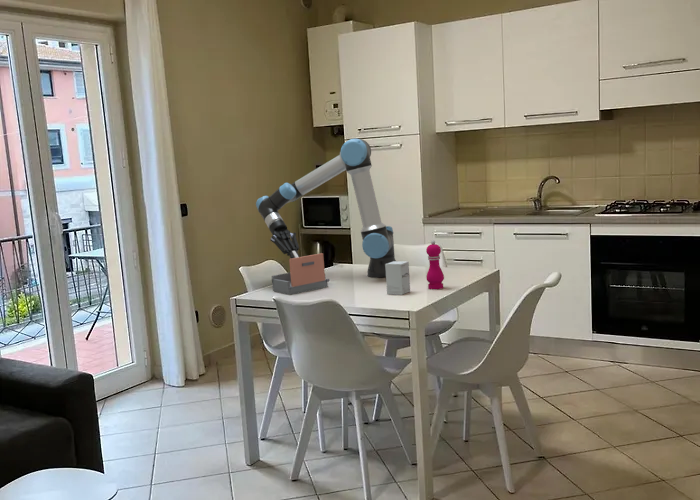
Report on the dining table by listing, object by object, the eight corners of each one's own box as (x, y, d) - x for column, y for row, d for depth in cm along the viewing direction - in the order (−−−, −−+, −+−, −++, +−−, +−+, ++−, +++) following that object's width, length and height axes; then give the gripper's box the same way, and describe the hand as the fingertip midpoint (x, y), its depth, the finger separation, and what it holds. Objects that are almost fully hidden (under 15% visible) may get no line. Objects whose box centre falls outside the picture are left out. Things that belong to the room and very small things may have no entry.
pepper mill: (446, 286, 293) (443, 238, 290) (442, 289, 286) (439, 241, 284) (429, 286, 295) (426, 239, 293) (425, 290, 289) (422, 241, 286)
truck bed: (271, 291, 311) (270, 276, 310) (310, 283, 324) (309, 268, 323) (290, 295, 299) (288, 279, 298) (329, 286, 312) (328, 271, 311)
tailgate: (291, 286, 301) (289, 258, 300) (323, 280, 311) (321, 253, 310) (293, 286, 300) (291, 259, 298) (326, 280, 310) (323, 253, 308)
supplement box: (402, 295, 282) (400, 264, 280) (386, 294, 286) (384, 263, 284) (411, 291, 288) (409, 261, 287) (395, 290, 292) (393, 260, 290)
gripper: (285, 228, 326) (308, 266, 315) (261, 231, 319) (283, 271, 308) (290, 217, 321) (314, 256, 310) (266, 220, 314) (289, 260, 303)
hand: (298, 263), depth 309 cm, fingers closed
